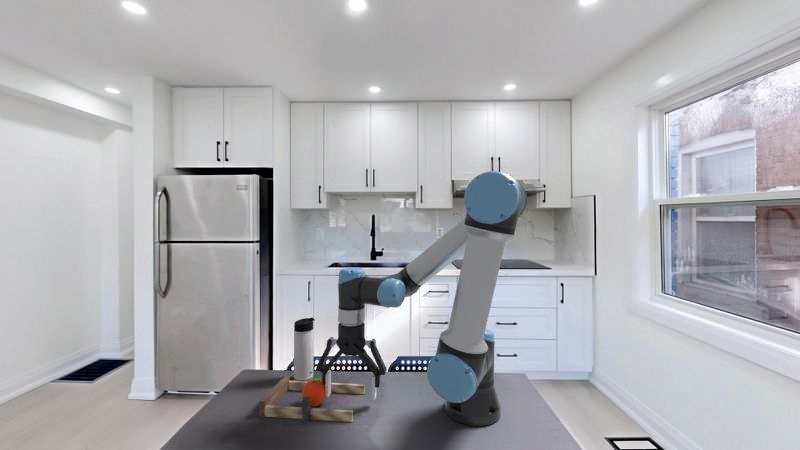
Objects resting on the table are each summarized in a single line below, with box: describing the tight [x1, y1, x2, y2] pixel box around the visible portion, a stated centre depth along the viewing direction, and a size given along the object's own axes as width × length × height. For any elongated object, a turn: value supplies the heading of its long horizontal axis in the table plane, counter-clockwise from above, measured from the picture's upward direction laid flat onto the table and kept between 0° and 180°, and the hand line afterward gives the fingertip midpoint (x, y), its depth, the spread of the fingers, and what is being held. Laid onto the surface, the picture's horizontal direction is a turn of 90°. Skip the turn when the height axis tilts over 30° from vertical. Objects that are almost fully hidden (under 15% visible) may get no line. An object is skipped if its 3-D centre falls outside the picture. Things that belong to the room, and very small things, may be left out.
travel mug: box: [293, 317, 315, 382], centre depth 116 cm, size 6×7×20 cm
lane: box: [258, 368, 366, 424], centre depth 100 cm, size 26×20×6 cm
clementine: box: [301, 377, 326, 407], centre depth 100 cm, size 8×7×7 cm
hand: (351, 396), depth 99 cm, fingers open, 13 cm apart
